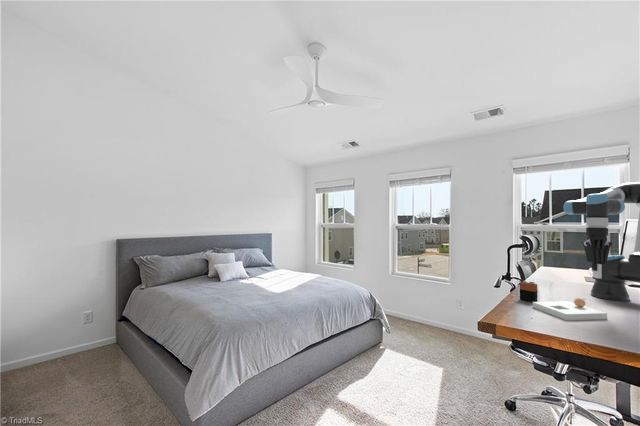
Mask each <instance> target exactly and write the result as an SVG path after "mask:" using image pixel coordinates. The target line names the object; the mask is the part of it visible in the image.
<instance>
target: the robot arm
mask: <svg viewBox="0 0 640 426" xmlns="http://www.w3.org/2000/svg"><path fill="white" fill-rule="evenodd" d="M625 204H636V207H638V208H639V209H640V181H631V182H625V183H621V184H619V185H615V186H612V187H609V188H606V189H605V190H604V191H602V192H600V193H590V194H587V195H586V197H584V198H583V197H582V198H580V199H576V200H574V199H572V200H567V201H565V202H564V204H563V212H564V213H565V214H566V215H570V216H574V215H575V216H576V215H577V216H578V215H579V216H580V215H581V216H582V215H583V216H584V215H586V216H585V218H586V219H585V220H586V221H585V223H586V224H585V225H586V228H585V235H587V239H586V240H585V241H582V242H581V244H582V246H583V247H584V252H585V257H586V261H587V263H589V264H591V270H592V278H594V282H593V285H592V288H591V290H590V295H591V296H592V297H596V298H600V299H602V300H610V301H620V302H625V301H630V294H629V293H628V291H627V287H626V285H625V281H626V282H631V283H632V282H633V283H637V284H638V283H639V284H640V211H639V213H638V220H637V221H638V222H637V226H636V227H637V228H636V235H635V242H634V251H633V252H631V253H630V254H629V255H628V258H626V257H625V256H624V255H623V254H619V255H618V254H613V255H612V254H610V249H611V247H612V245H613V243H612V242H611V241H608V239H607V236H609V228H608V227H609V215H611V216H616V215H619V214H622V213H624V211H625V209H626V206H625Z"/></svg>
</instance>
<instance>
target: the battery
mask: <svg viewBox="0 0 640 426" xmlns="http://www.w3.org/2000/svg"><path fill="white" fill-rule="evenodd" d="M519 300H521V301H524V302H529V303H533V302H538V284H537V283H535V281H529V282H527V281H526V280H522V281H521V282H519Z"/></svg>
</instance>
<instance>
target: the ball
mask: <svg viewBox="0 0 640 426" xmlns="http://www.w3.org/2000/svg"><path fill="white" fill-rule="evenodd" d="M573 303H574V304H575V305H576V306H578V307H584V306H585V307H586V301H585V300H584V299H583V298H581V297H579V298H575V299H574V300H573Z"/></svg>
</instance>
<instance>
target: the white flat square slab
mask: <svg viewBox="0 0 640 426" xmlns="http://www.w3.org/2000/svg"><path fill="white" fill-rule="evenodd" d="M532 308H534V309H536V310H539V311H541V312H544V313H547V314H550V315H552V316H554V317H557V318H560V319H562V320H565V321H578V320H579V321H581V320H583V321H585V320H586V321H587V320H588V321H589V320H607V319H608V312H604V311H601V310H598V309H596V308H591V307H588V306H586V305H585V306H584V307H578V306H576V305H575V304H574V301H569V300H568V301H567V300H566V301H536V302H532Z"/></svg>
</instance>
